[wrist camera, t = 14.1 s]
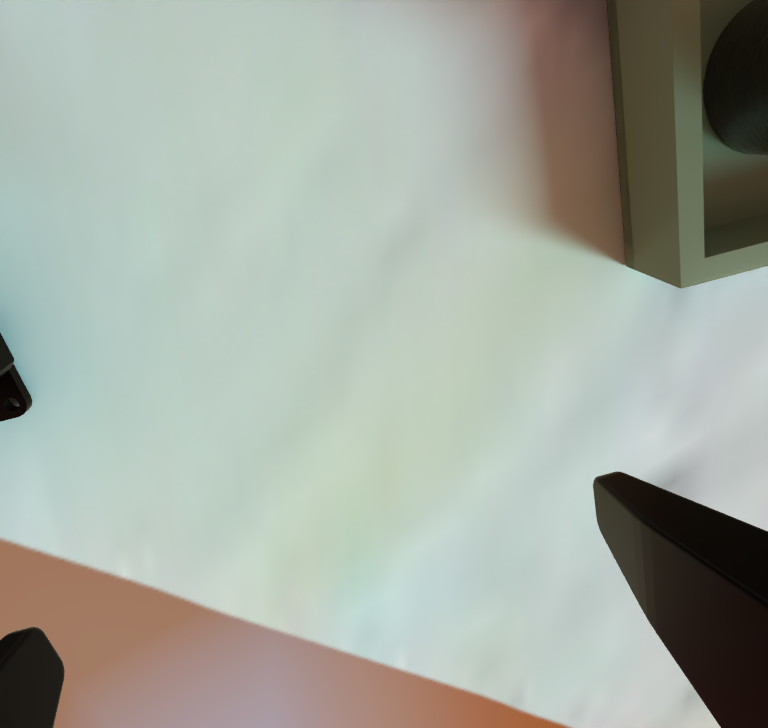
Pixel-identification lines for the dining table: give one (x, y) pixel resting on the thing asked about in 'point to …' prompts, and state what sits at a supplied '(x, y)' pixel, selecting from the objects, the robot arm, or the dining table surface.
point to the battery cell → (740, 81)
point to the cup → (680, 148)
